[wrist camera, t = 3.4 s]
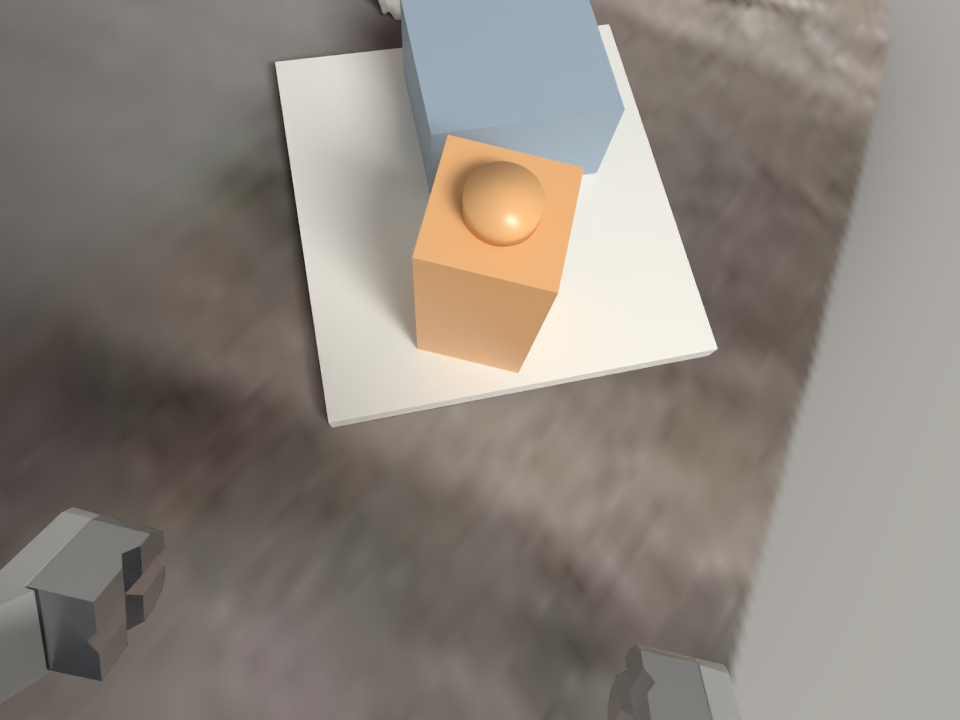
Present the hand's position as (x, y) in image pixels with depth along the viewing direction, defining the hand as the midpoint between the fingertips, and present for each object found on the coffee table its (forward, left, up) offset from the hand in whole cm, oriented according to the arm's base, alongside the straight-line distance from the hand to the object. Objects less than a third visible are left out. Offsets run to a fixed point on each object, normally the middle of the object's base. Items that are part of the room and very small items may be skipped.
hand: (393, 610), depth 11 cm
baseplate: (+6, +16, -15) cm, 22 cm away
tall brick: (+5, +10, -14) cm, 18 cm away
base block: (+8, +20, -14) cm, 25 cm away
